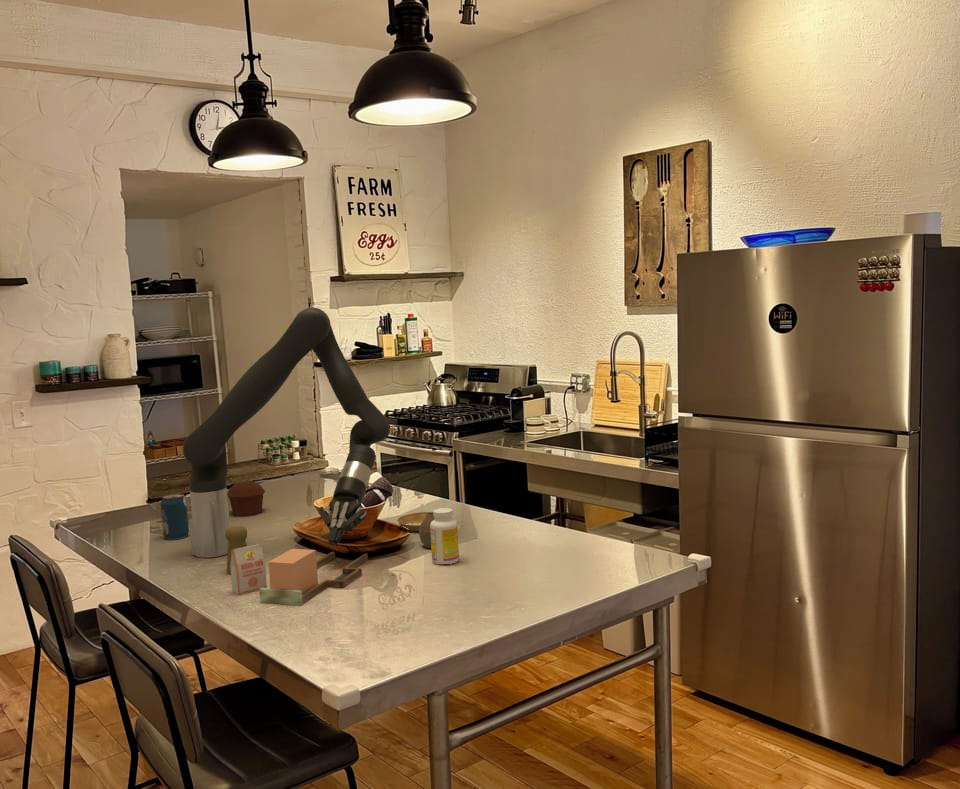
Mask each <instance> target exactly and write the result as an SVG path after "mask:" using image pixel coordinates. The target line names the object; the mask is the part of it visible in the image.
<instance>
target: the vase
mask: <svg viewBox="0 0 960 789" xmlns="http://www.w3.org/2000/svg"><path fill="white" fill-rule="evenodd" d="M429 512H430V513H427V515H426V517H425V519H424V520H423V522H422V523H421V525H420V529H419V532H418V535H419V539H420V542H421V544H422V545H423V546H424V547H425V548H427V547H429V548H428V549H431V532H430V524H431V522H432V521H433V520H435V517H434V516H433V511H429Z"/></svg>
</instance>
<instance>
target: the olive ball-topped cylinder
mask: <svg viewBox="0 0 960 789" xmlns="http://www.w3.org/2000/svg"><path fill="white" fill-rule="evenodd" d="M225 536H226V539H227V540H228V554H227V558H226V560H227V561H226V574H227V573H228V575H231V568H230V564H231V555H232V550H233V549H238V548H243V547H247V545H248V544H247V540H246V539H247V538H248V529H247V528H246V527H245V526H243V525H235V526H230V528H228V529H227V530H226V533H225Z"/></svg>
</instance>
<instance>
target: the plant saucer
mask: <svg viewBox="0 0 960 789" xmlns="http://www.w3.org/2000/svg"><path fill="white" fill-rule="evenodd" d="M430 512H431V511H421V512H413V513H409V514H405V515H402V516H400V517H398V518H397V520H396V521H397V523H398V524H399V525H400V526H401V527H402V526H404V527H406V528H408V529H409V530H410V532H414V531H419V529H420V525H406V524H409V523H411V524H413V523H417V524H418V523H421V522H423V520H424V519H425V517H426V515H427V513H430Z"/></svg>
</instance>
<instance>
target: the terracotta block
mask: <svg viewBox="0 0 960 789" xmlns="http://www.w3.org/2000/svg"><path fill="white" fill-rule="evenodd" d="M317 561H318V560H317V550H316V549H305V548H304V549H303V548H301V549H299V548H292V549H290V550H288V551H286V552H284V553H282V554H280V555H279V556H277V557H274V558H272V560H270V561H268V573H269V575H268V576H269V588H272V589H286V590H300V591H302V595H303V594H305V593H306V592H308V591H309V590H311V589H312V588H314V587H315V586H317V585H318V584H319V579H318V578H319V576H318V569H317Z"/></svg>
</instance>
